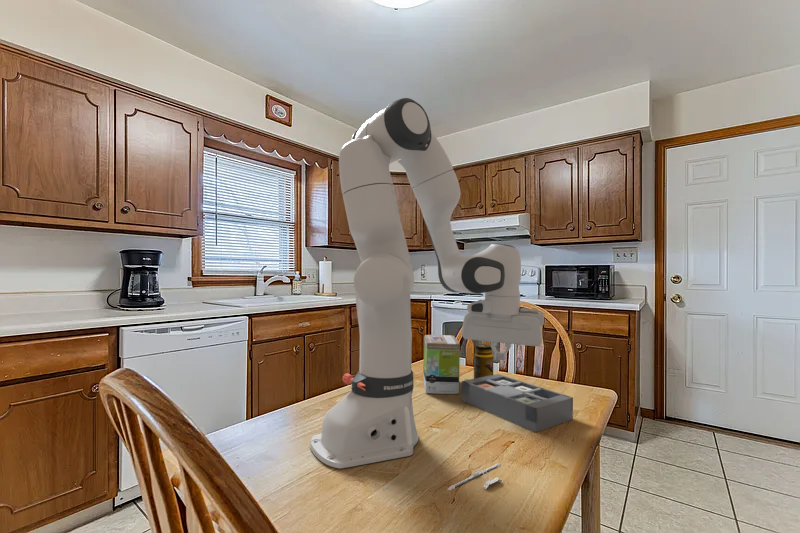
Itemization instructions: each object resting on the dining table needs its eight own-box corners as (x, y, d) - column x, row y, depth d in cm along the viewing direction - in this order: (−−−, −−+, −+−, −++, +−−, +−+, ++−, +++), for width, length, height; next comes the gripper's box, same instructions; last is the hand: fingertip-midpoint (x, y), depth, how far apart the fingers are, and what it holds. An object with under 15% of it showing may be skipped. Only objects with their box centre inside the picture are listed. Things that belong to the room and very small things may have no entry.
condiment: (497, 386, 120) (498, 347, 120) (471, 387, 119) (471, 347, 119) (489, 379, 127) (489, 342, 127) (464, 380, 126) (464, 343, 126)
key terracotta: (485, 395, 101) (486, 389, 101) (475, 391, 105) (475, 385, 105) (496, 393, 104) (496, 387, 104) (485, 389, 107) (485, 383, 107)
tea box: (460, 394, 112) (460, 343, 112) (425, 394, 112) (425, 342, 112) (453, 379, 127) (454, 334, 127) (422, 379, 127) (423, 333, 127)
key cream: (524, 398, 100) (524, 391, 100) (511, 393, 103) (511, 387, 103) (534, 395, 102) (534, 389, 102) (521, 391, 105) (522, 385, 105)
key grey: (504, 391, 105) (504, 385, 105) (493, 387, 109) (493, 381, 109) (514, 388, 108) (514, 383, 108) (503, 385, 111) (503, 379, 111)
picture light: (499, 465, 73) (499, 454, 73) (519, 475, 70) (519, 464, 70) (445, 491, 64) (446, 478, 64) (465, 504, 61) (466, 491, 61)
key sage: (527, 411, 91) (527, 404, 91) (513, 406, 94) (513, 399, 94) (538, 408, 93) (538, 401, 93) (524, 403, 96) (524, 396, 96)
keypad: (535, 432, 87) (535, 408, 87) (461, 400, 107) (462, 381, 107) (572, 419, 95) (573, 397, 95) (497, 392, 115) (497, 373, 115)
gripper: (545, 308, 101) (543, 361, 101) (466, 303, 108) (464, 352, 109) (544, 310, 95) (542, 367, 95) (461, 304, 103) (459, 357, 103)
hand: (500, 359), depth 102 cm, fingers closed
